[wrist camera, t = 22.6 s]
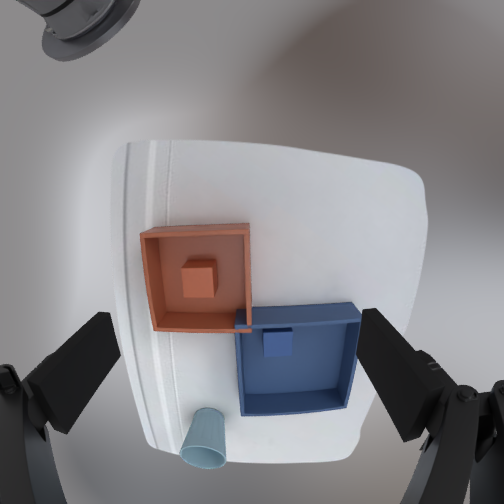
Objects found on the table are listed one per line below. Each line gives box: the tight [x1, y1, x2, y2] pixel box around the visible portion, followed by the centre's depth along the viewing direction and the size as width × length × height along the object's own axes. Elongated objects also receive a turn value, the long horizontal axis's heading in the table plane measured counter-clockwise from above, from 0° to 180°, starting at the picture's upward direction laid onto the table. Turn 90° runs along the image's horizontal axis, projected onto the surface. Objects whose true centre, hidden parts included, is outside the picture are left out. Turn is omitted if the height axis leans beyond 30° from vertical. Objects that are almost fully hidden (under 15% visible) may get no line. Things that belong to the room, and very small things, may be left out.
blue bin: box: [234, 302, 362, 416], centre depth 38 cm, size 17×17×6 cm
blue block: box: [262, 327, 293, 357], centre depth 38 cm, size 4×4×4 cm
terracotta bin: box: [140, 223, 252, 333], centre depth 35 cm, size 13×13×6 cm
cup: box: [180, 408, 226, 469], centre depth 39 cm, size 8×8×10 cm
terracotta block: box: [181, 259, 218, 298], centre depth 36 cm, size 4×4×4 cm
